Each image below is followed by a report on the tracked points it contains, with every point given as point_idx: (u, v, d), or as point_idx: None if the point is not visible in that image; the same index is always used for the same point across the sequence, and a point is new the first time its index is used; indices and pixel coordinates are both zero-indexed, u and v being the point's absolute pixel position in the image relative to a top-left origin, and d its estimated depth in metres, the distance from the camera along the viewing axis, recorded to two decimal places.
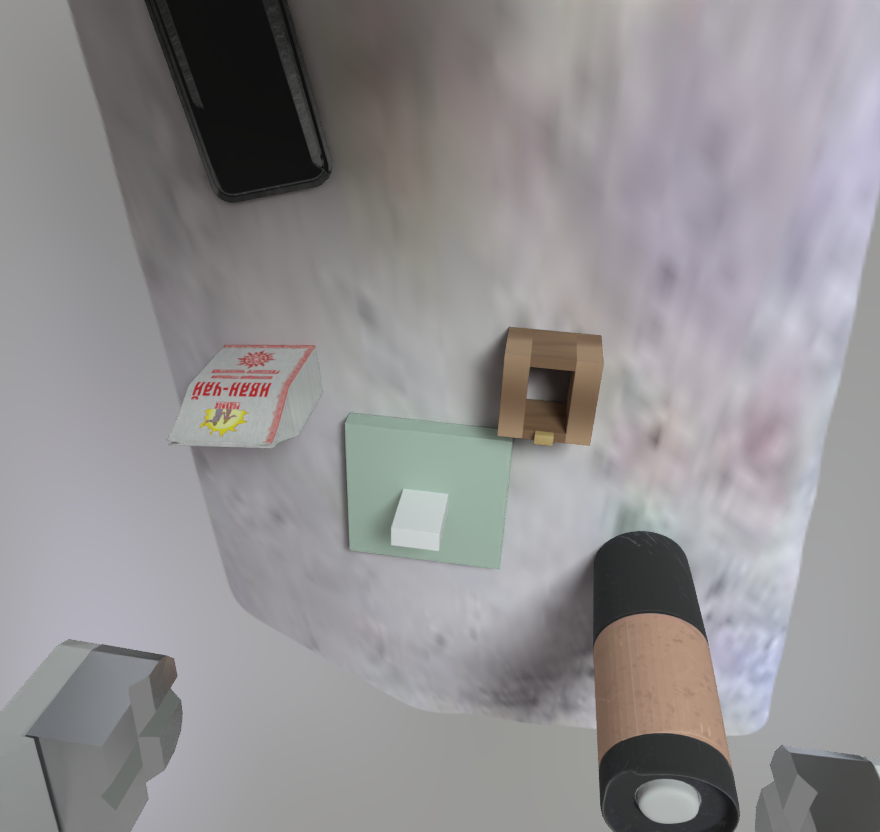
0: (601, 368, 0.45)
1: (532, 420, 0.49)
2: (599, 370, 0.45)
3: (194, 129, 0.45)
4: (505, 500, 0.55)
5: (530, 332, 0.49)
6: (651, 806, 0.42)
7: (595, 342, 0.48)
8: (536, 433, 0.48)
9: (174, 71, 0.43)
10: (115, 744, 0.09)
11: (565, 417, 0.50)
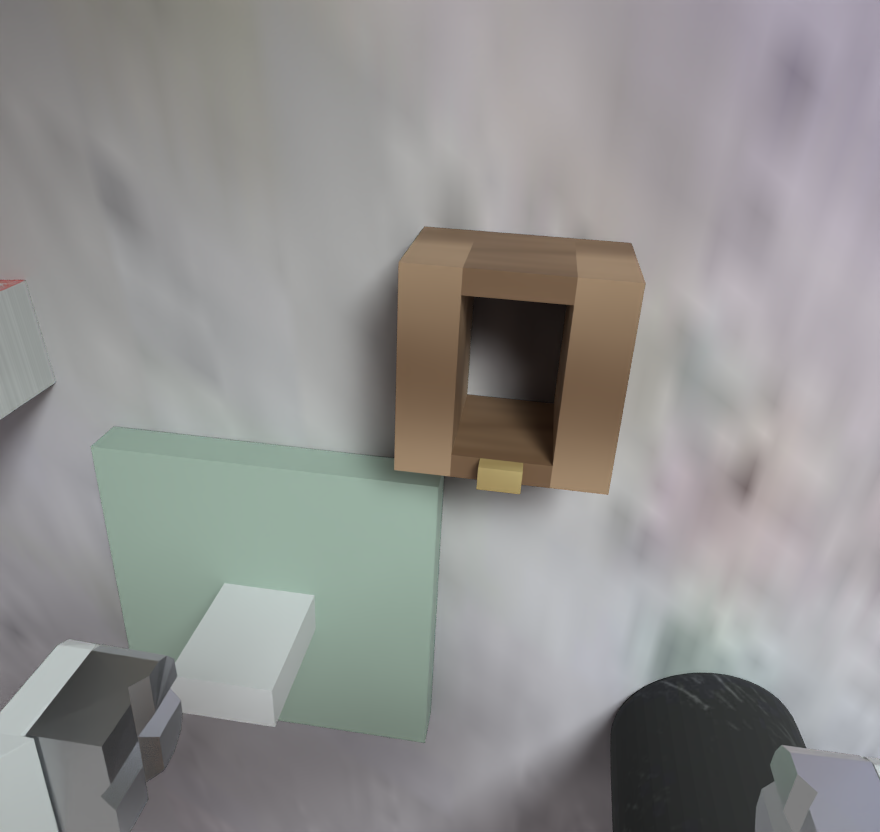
0: (639, 296, 0.18)
1: (476, 436, 0.22)
2: (634, 301, 0.18)
3: None
4: (429, 609, 0.27)
5: (471, 234, 0.21)
6: None
7: (619, 251, 0.20)
8: (482, 464, 0.20)
9: None
10: (115, 744, 0.09)
11: (551, 431, 0.22)
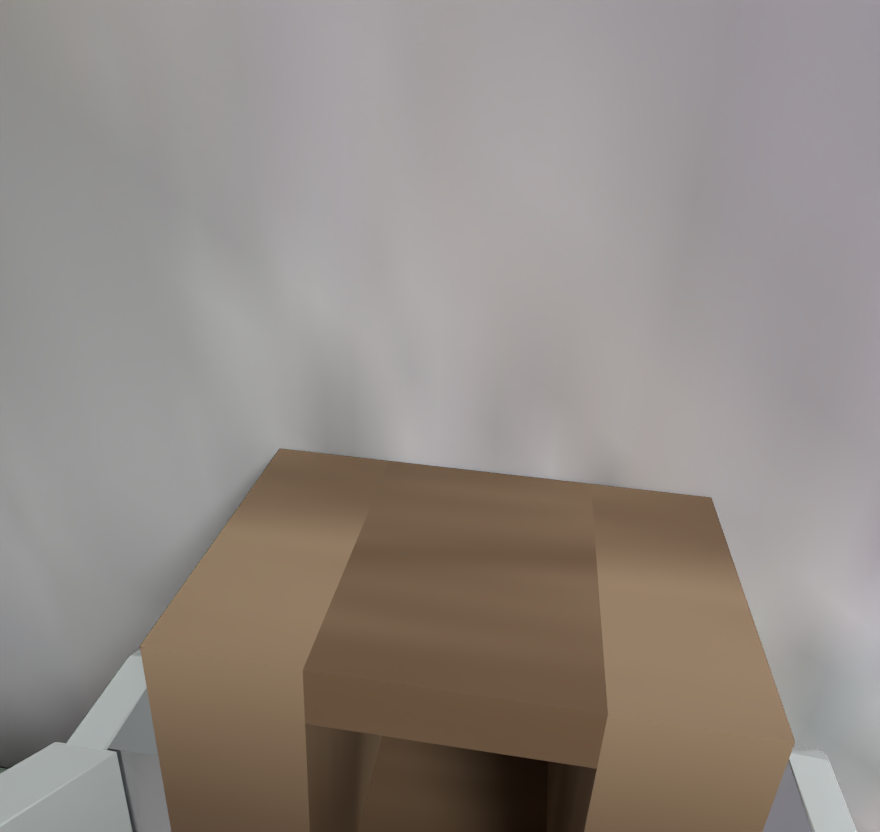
0: (775, 767, 0.07)
1: None
2: (760, 777, 0.07)
3: None
4: None
5: (370, 478, 0.10)
6: None
7: (694, 542, 0.09)
8: None
9: None
10: None
11: None
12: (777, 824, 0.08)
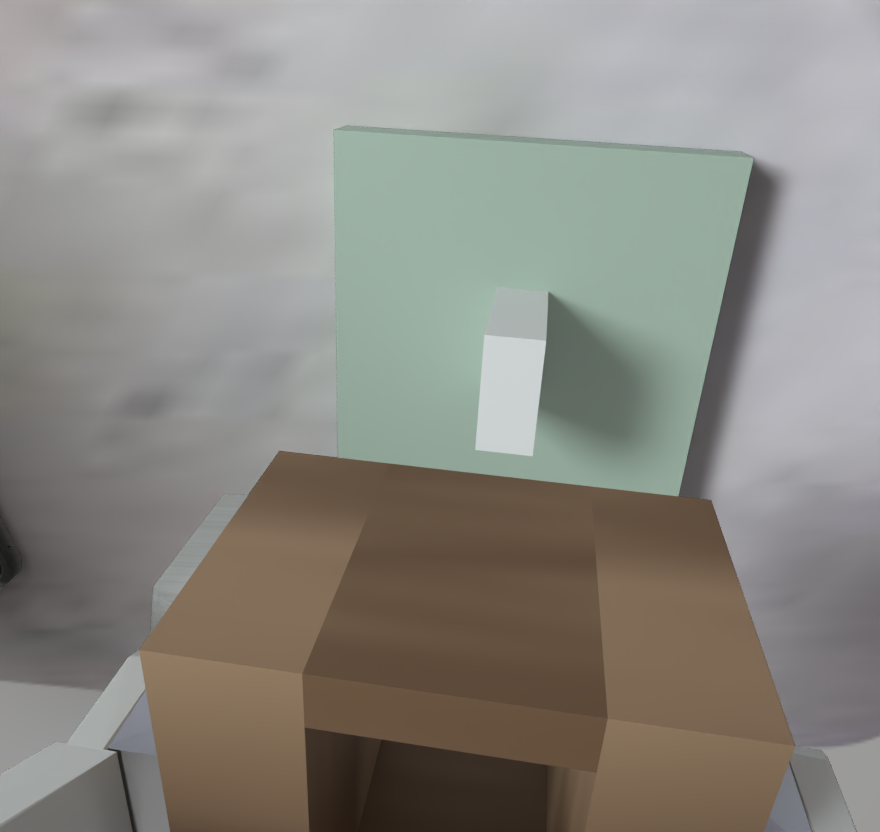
0: (775, 771, 0.07)
1: None
2: (760, 781, 0.07)
3: None
4: (507, 144, 0.22)
5: (370, 480, 0.10)
6: None
7: (694, 545, 0.09)
8: None
9: None
10: None
11: None
12: (777, 824, 0.08)
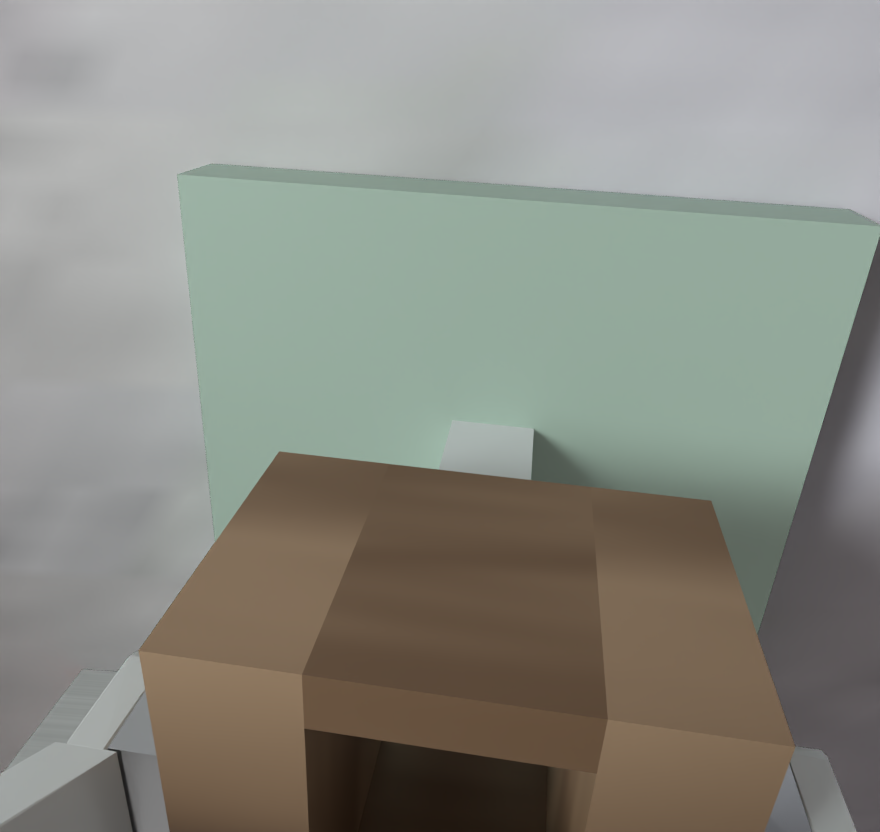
0: (775, 772, 0.07)
1: None
2: (760, 782, 0.07)
3: None
4: (463, 200, 0.13)
5: (370, 481, 0.10)
6: None
7: (694, 546, 0.09)
8: None
9: None
10: None
11: None
12: (777, 824, 0.08)
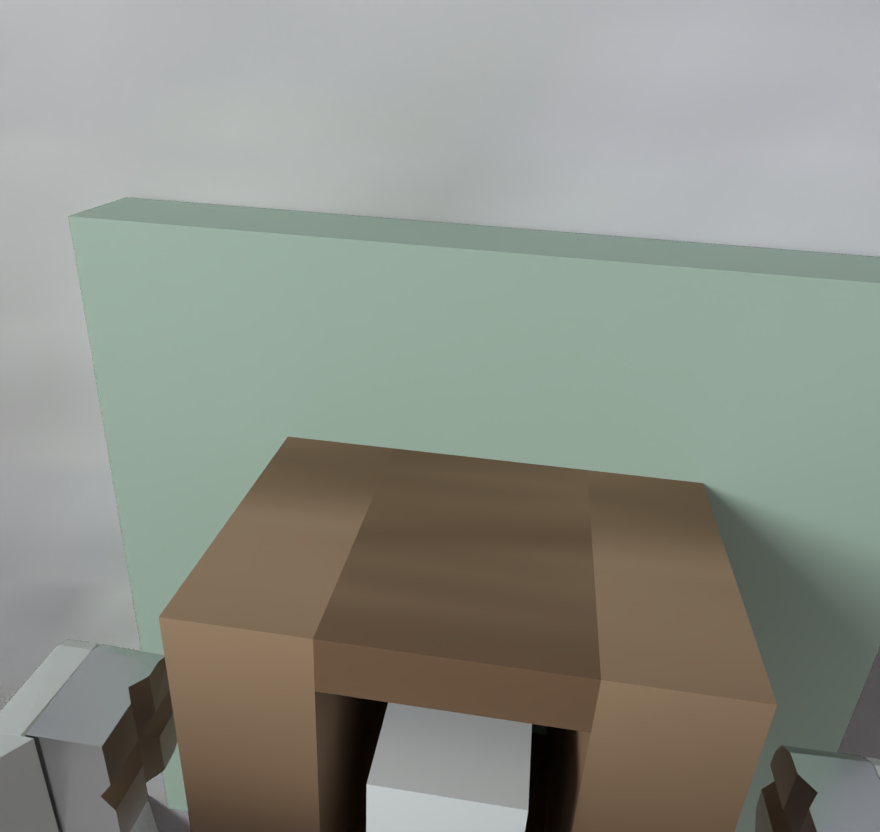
0: (759, 729, 0.07)
1: None
2: (744, 739, 0.07)
3: None
4: (445, 254, 0.10)
5: (375, 464, 0.10)
6: None
7: (686, 524, 0.09)
8: None
9: None
10: (115, 744, 0.09)
11: None
12: None
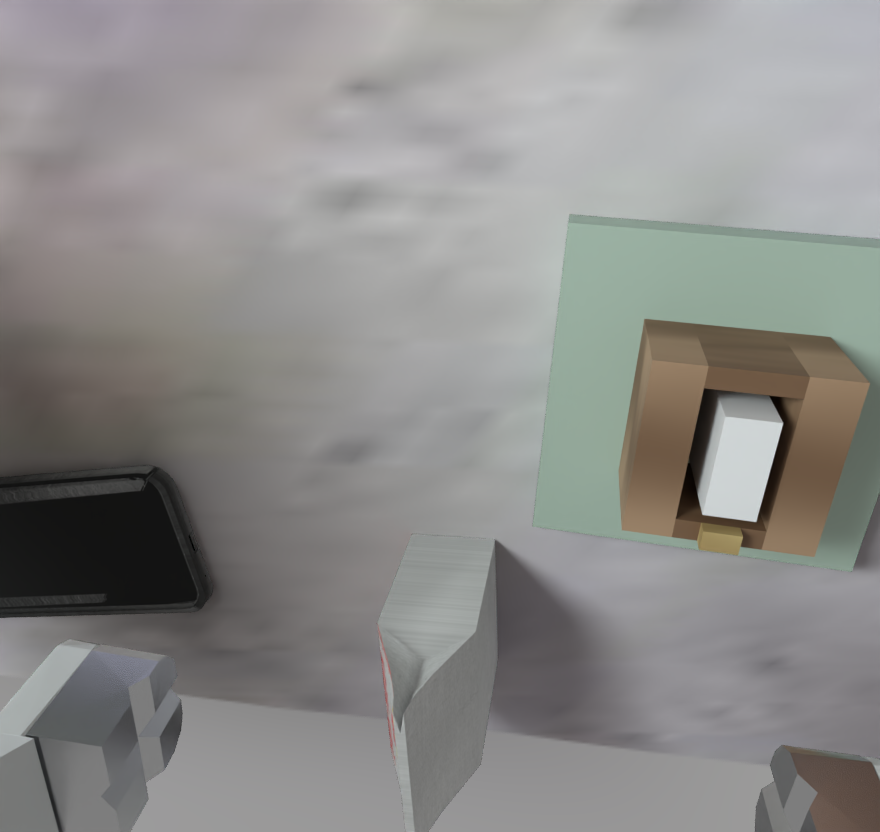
0: (863, 393, 0.21)
1: (689, 501, 0.25)
2: (858, 398, 0.21)
3: (129, 610, 0.37)
4: (729, 238, 0.24)
5: (690, 327, 0.25)
6: None
7: (827, 347, 0.24)
8: (705, 528, 0.24)
9: (75, 610, 0.38)
10: (115, 744, 0.09)
11: None
12: None
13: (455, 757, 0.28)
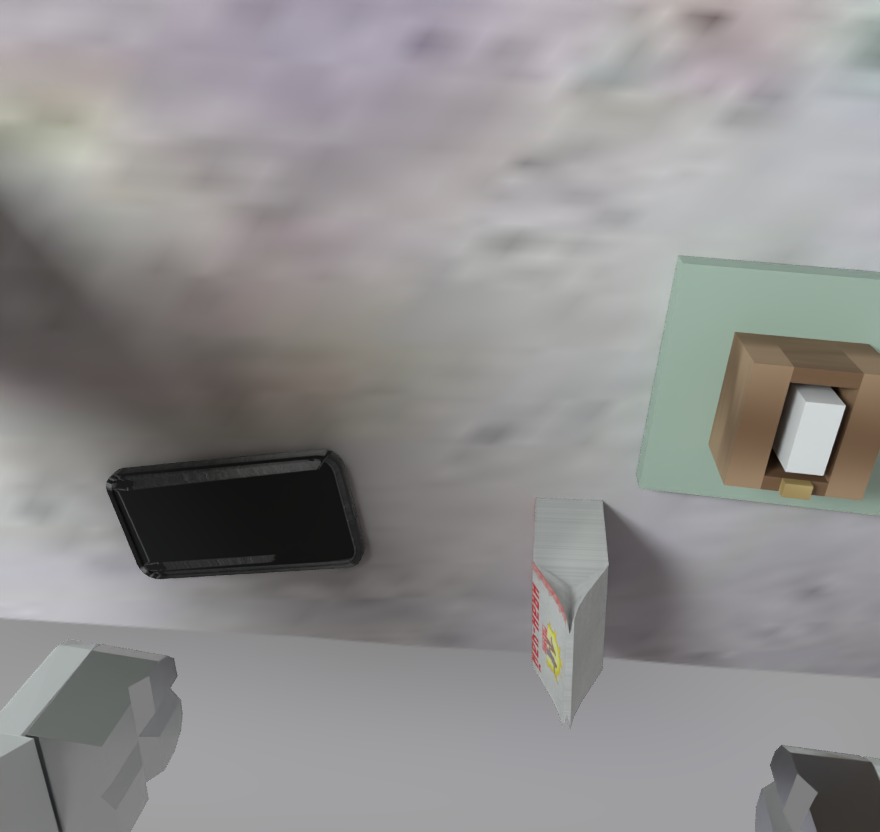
0: None
1: (770, 464, 0.35)
2: None
3: (294, 567, 0.46)
4: (800, 275, 0.33)
5: (769, 338, 0.34)
6: None
7: (869, 351, 0.33)
8: (786, 481, 0.33)
9: (246, 570, 0.47)
10: (115, 744, 0.09)
11: None
12: None
13: (591, 660, 0.37)
